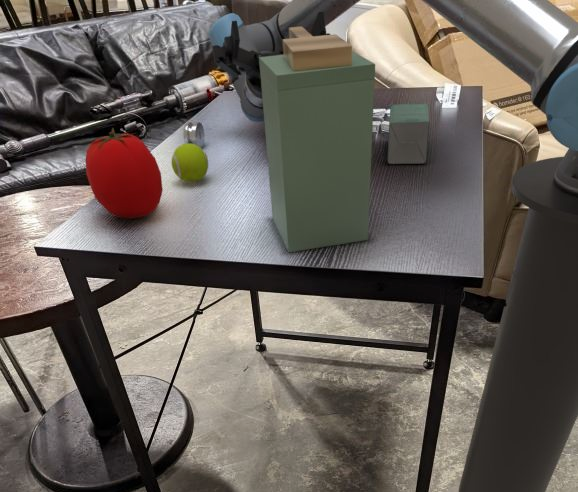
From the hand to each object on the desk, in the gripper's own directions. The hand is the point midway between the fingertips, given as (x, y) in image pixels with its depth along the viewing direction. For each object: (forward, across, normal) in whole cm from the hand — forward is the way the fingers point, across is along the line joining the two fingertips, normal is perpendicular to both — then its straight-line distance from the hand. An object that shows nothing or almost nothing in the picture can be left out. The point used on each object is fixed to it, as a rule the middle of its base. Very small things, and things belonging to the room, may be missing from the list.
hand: (279, 25), depth 81 cm
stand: (+6, 0, -31) cm, 32 cm away
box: (-18, -25, -18) cm, 35 cm away
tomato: (-8, +28, -23) cm, 37 cm away
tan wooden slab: (+13, -1, -9) cm, 16 cm away
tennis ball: (-18, +17, -18) cm, 30 cm away
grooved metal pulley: (-36, +15, -7) cm, 39 cm away
